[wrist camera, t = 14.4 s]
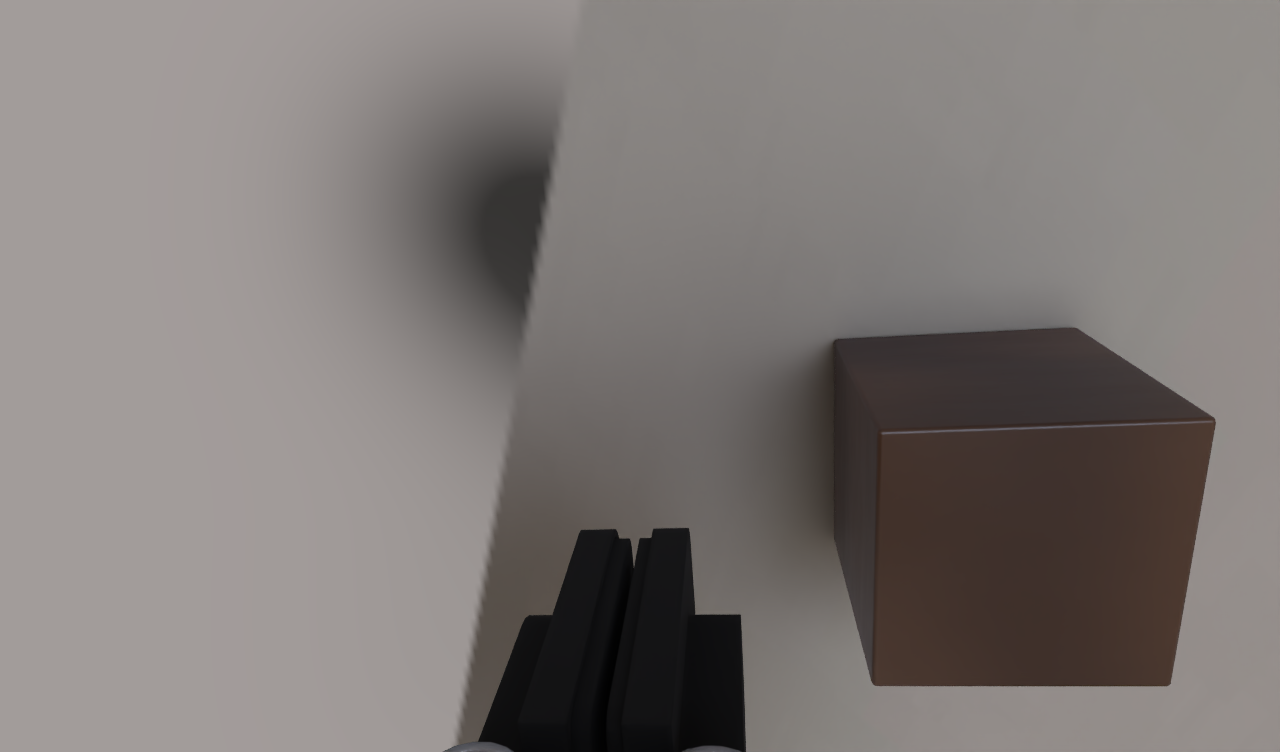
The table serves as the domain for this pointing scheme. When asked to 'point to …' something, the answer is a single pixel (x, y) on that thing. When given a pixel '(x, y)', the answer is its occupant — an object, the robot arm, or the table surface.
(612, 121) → the table surface
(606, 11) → the table surface
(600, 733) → the robot arm
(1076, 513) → the walnut block
